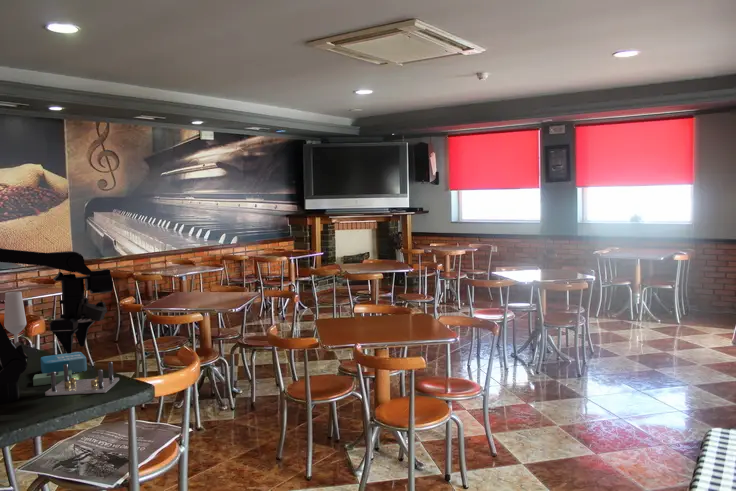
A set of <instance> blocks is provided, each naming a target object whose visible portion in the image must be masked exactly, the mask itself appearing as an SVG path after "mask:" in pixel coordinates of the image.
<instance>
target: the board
mask: <svg viewBox="0 0 736 491" xmlns="http://www.w3.org/2000/svg"><path fill="white" fill-rule="evenodd" d="M68 374H69V380H70V378H73V374H72V370H69V371H68ZM63 380H64V371H61V372H56V384H58V383H60V382H61V381H63ZM32 383H33V385H32V386H33V387H36V386H44V385H45V386H46V385H51V373H44V374H43V373H39V374H38V373H37V374H34V376H33V378H32Z"/></svg>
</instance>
